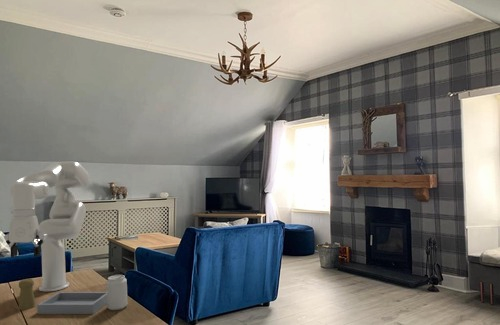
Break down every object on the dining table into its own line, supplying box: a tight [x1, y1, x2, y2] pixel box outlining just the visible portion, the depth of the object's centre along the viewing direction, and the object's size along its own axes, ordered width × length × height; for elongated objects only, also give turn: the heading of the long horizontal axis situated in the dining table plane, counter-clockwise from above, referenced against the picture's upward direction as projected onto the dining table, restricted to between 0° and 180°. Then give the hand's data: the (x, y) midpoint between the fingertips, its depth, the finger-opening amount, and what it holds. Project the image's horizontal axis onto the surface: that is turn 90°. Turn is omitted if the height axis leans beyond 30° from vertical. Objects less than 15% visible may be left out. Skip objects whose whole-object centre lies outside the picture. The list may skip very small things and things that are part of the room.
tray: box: [36, 291, 107, 315], centre depth 150 cm, size 22×14×4 cm, turn 85°
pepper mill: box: [17, 278, 37, 311], centre depth 152 cm, size 6×6×11 cm
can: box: [105, 274, 128, 311], centre depth 148 cm, size 8×8×12 cm
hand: (25, 256), depth 152 cm, fingers open, 9 cm apart
